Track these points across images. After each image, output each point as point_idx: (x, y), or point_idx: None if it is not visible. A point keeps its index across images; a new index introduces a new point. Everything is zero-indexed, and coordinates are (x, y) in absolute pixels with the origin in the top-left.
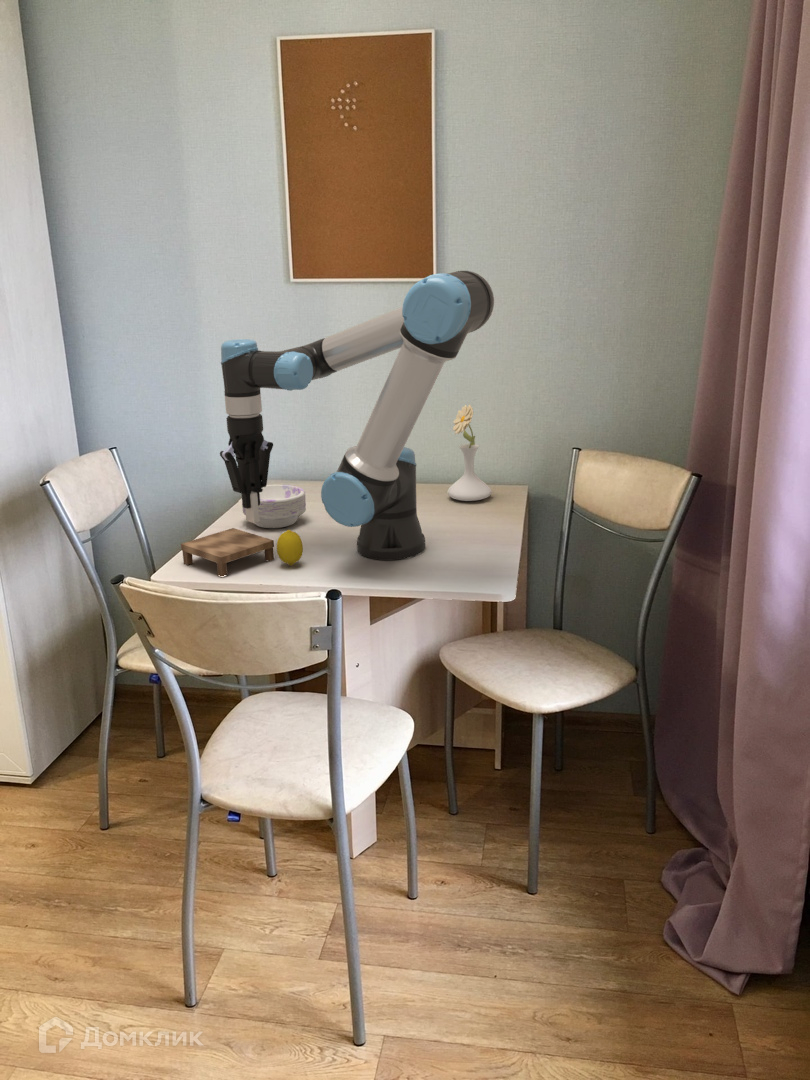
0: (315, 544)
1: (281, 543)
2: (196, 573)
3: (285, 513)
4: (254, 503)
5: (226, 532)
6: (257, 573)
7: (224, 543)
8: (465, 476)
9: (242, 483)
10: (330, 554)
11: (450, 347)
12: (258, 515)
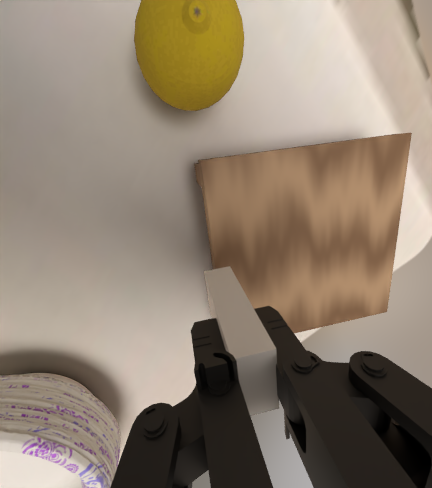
0: (17, 195)
1: (242, 25)
2: None
3: (17, 389)
4: (241, 312)
5: None
6: (289, 97)
7: (324, 243)
8: None
9: (416, 420)
10: (13, 63)
11: None
12: (210, 282)
